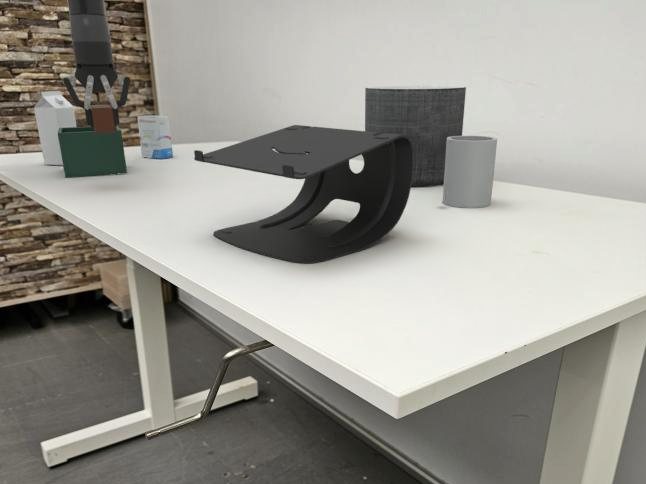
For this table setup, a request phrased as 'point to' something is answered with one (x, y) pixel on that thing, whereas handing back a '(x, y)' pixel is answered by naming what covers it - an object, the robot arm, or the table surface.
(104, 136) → the bin
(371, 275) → the table surface
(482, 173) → the cup
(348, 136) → the laptop stand
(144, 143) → the ink box
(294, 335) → the table surface
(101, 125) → the brown rectangular block
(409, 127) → the planter
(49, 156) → the milk carton
